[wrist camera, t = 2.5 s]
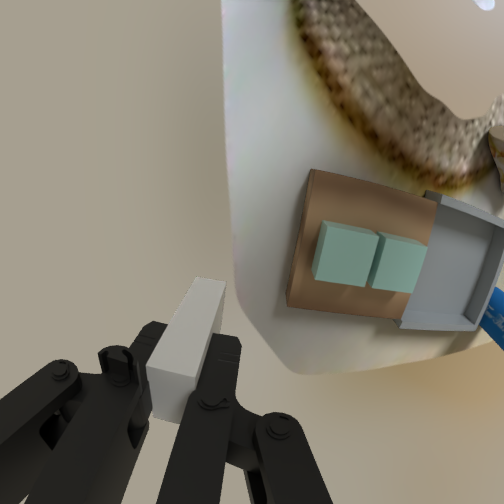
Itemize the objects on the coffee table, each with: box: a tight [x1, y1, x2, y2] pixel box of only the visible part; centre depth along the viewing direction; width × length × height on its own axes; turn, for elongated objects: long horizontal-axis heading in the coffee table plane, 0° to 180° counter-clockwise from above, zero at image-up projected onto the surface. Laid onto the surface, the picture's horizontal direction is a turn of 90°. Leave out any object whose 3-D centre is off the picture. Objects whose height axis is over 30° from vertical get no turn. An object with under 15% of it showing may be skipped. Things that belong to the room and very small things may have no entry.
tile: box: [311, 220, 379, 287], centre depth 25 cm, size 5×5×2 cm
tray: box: [393, 190, 504, 331], centre depth 27 cm, size 16×15×4 cm
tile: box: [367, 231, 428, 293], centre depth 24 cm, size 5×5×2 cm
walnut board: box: [286, 169, 438, 319], centre depth 27 cm, size 14×14×3 cm
